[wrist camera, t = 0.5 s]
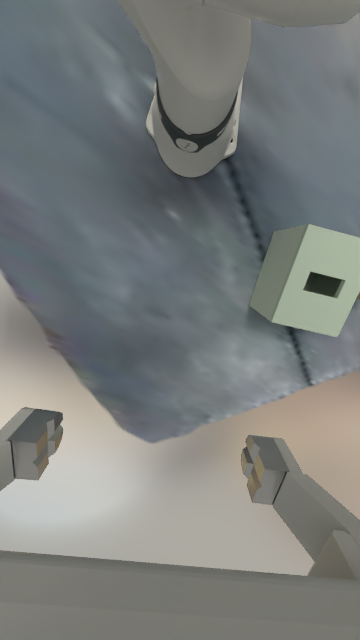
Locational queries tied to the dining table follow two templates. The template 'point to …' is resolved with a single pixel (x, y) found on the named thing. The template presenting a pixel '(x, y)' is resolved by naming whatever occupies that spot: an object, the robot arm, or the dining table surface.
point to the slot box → (309, 279)
